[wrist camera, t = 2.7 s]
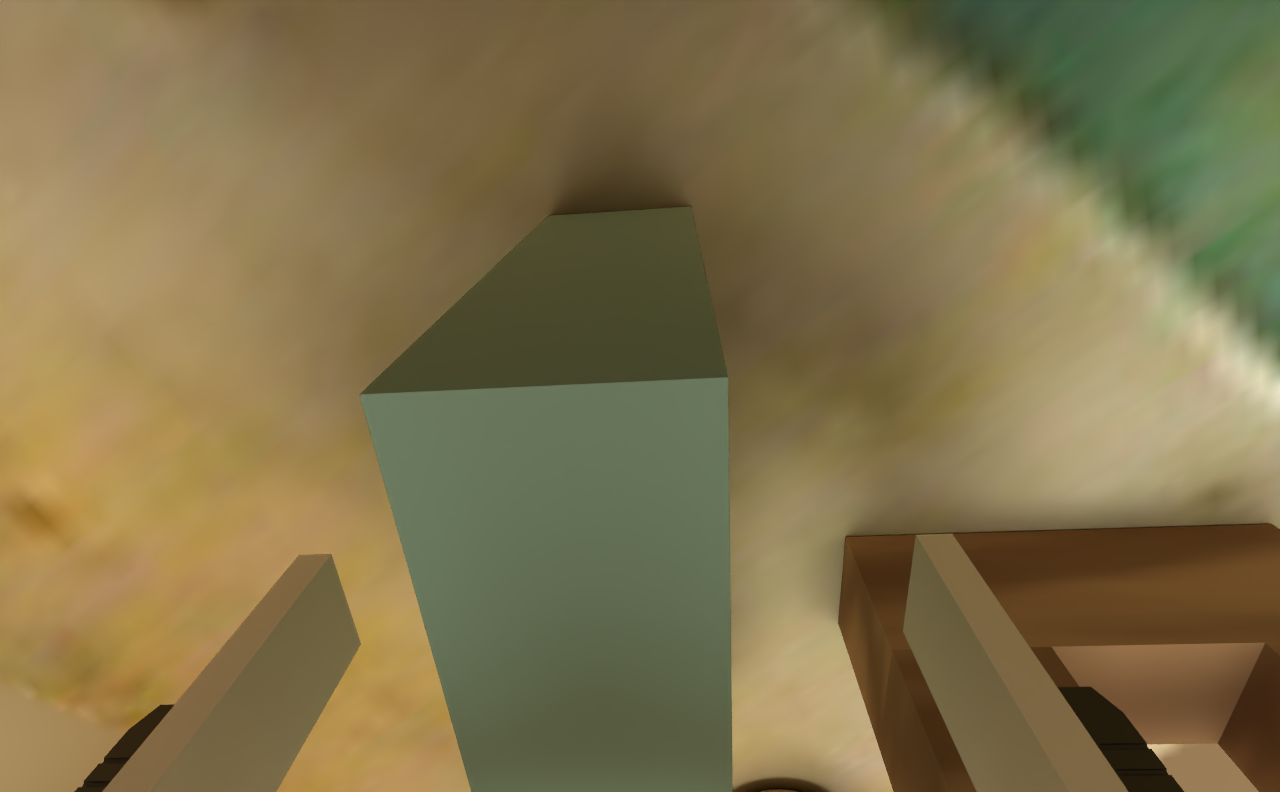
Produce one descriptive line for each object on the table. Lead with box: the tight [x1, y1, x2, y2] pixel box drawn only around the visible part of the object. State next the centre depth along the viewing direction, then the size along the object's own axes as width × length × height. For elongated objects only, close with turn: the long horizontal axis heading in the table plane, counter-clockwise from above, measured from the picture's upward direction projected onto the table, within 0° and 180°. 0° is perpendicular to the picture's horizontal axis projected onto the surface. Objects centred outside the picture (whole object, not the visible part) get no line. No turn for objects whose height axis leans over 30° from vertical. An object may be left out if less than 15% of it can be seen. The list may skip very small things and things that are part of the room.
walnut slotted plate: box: [838, 524, 1280, 792], centre depth 17 cm, size 4×14×12 cm, turn 94°
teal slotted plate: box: [359, 206, 732, 792], centre depth 16 cm, size 18×4×12 cm, turn 4°
